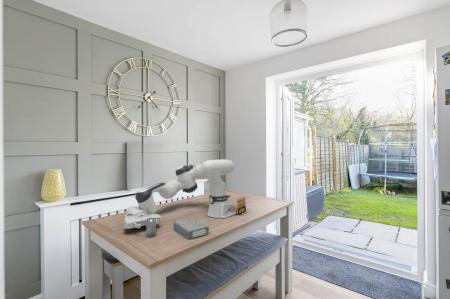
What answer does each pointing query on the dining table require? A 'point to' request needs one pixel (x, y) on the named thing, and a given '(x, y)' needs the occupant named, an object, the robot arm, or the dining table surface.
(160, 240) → the dining table surface
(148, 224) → the cylinder
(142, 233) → the dining table surface
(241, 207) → the ammunition clip
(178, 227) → the kitchen scale
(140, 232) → the dining table surface
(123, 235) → the dining table surface
